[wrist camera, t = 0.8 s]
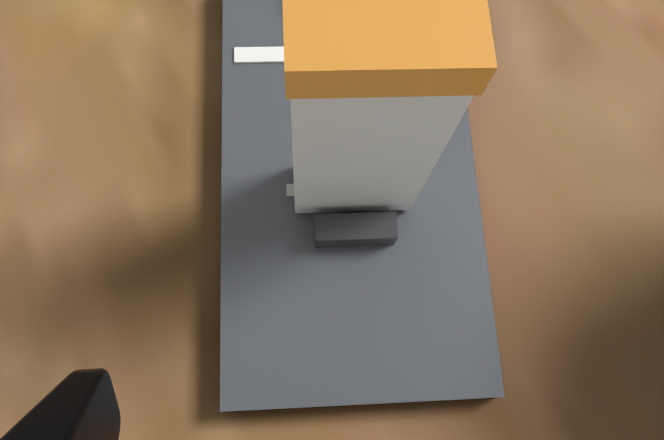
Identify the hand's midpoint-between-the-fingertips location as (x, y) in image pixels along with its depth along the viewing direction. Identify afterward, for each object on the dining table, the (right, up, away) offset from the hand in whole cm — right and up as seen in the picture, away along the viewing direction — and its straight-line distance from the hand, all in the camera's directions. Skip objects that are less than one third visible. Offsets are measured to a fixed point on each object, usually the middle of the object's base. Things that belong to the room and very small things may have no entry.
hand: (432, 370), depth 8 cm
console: (-1, +4, +16) cm, 16 cm away
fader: (-1, +3, +15) cm, 15 cm away
